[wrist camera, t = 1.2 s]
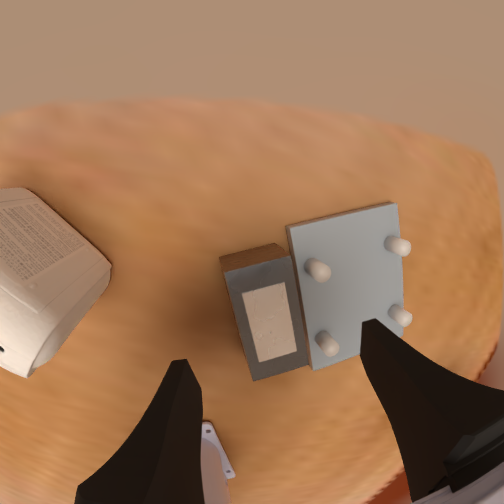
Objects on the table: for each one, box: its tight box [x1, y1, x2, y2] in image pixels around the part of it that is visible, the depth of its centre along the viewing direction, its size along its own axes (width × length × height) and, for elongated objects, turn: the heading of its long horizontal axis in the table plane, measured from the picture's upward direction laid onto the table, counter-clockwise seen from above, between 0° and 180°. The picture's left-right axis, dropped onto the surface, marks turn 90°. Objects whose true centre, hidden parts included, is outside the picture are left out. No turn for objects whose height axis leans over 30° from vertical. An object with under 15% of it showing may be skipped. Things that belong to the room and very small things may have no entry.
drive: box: [219, 243, 309, 381], centre depth 21 cm, size 8×4×4 cm, turn 12°
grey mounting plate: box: [286, 202, 412, 371], centre depth 22 cm, size 12×9×3 cm
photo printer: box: [0, 187, 112, 378], centre depth 13 cm, size 10×4×12 cm, turn 49°
